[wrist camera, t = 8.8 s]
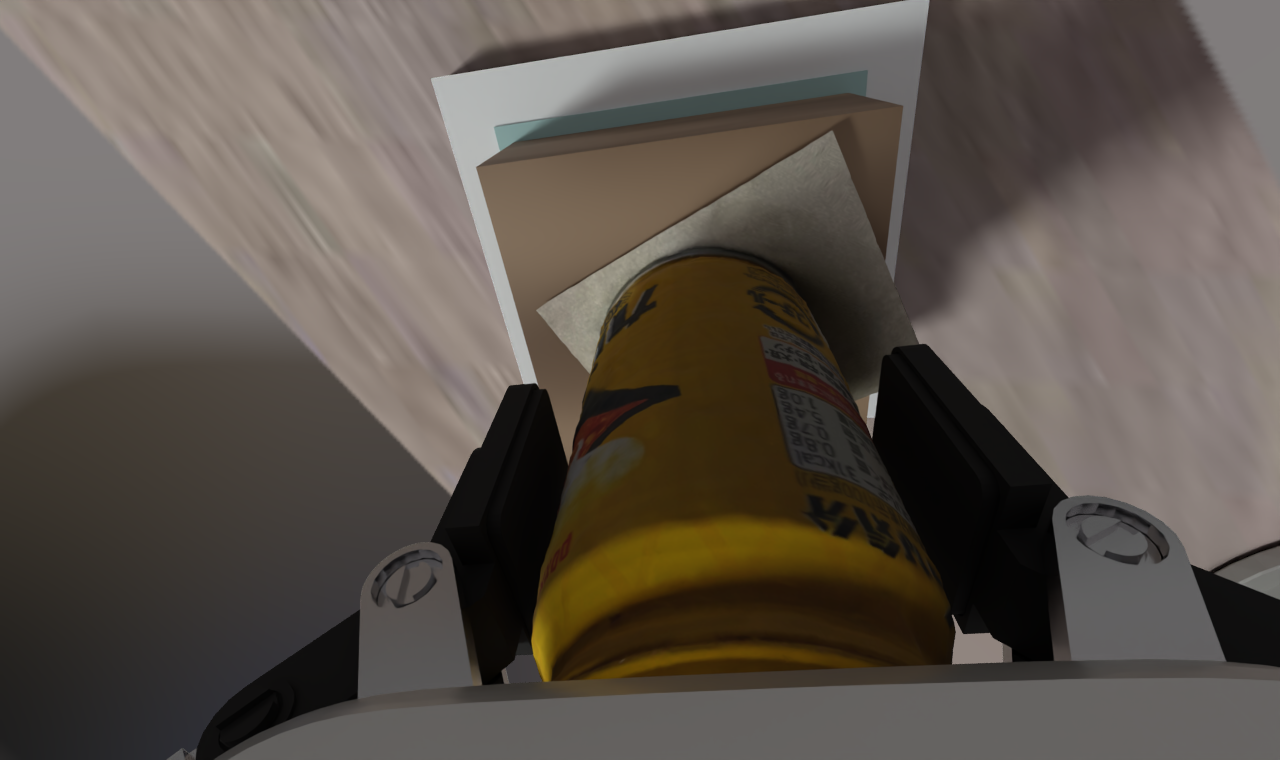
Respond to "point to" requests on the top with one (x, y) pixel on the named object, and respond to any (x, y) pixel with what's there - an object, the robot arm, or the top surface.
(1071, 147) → the top surface
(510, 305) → the build board
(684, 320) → the condiment
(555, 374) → the base block
